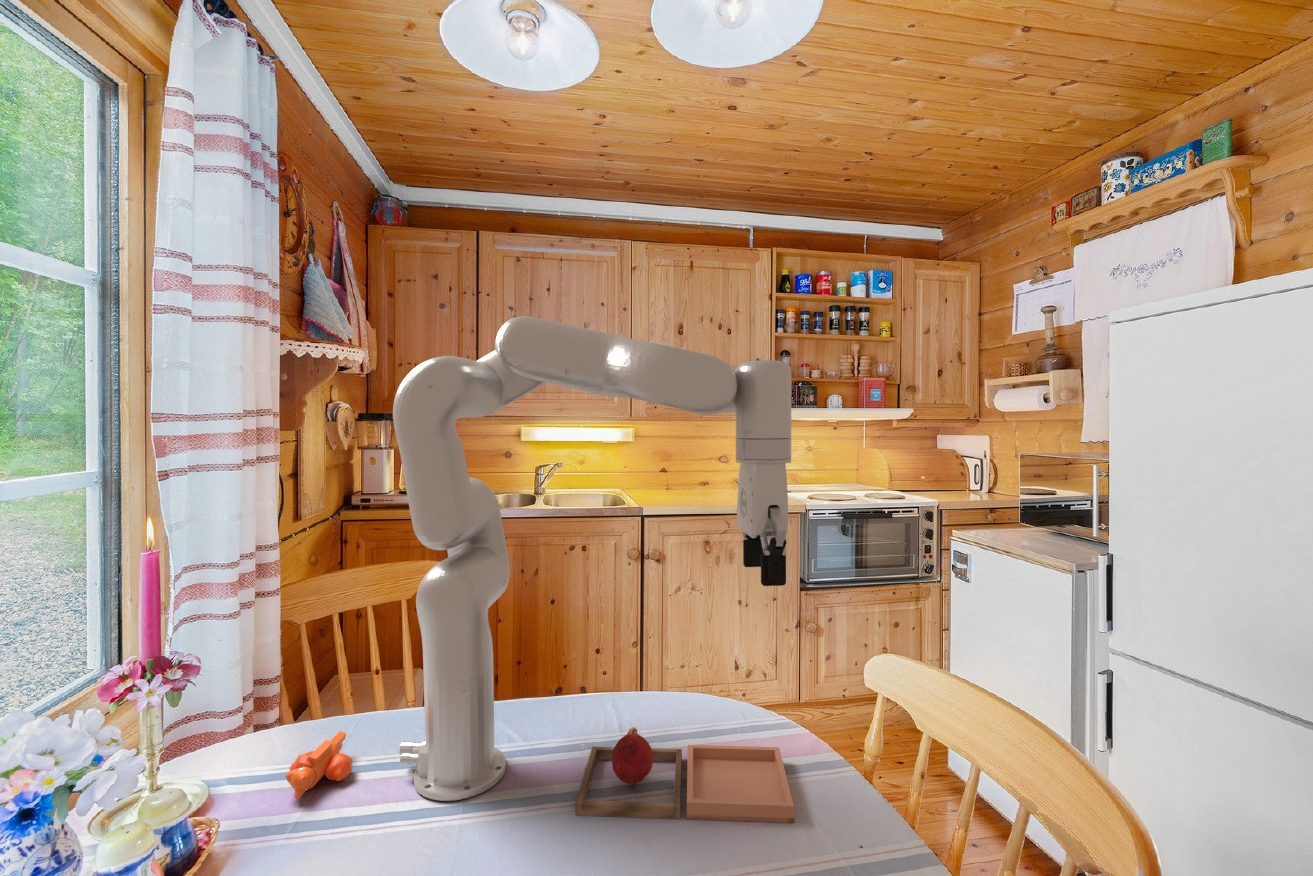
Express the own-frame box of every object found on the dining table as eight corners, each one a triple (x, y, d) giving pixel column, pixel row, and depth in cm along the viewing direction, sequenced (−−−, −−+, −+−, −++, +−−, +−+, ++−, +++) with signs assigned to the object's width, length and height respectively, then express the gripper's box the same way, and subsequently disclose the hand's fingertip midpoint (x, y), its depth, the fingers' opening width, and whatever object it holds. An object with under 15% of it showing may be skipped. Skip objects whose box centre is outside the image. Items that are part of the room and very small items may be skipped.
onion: (648, 800, 81) (647, 742, 81) (606, 795, 83) (606, 737, 82) (656, 775, 87) (656, 720, 87) (618, 770, 88) (617, 717, 88)
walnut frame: (575, 815, 79) (574, 803, 78) (592, 756, 92) (592, 746, 92) (679, 818, 78) (679, 807, 78) (681, 758, 91) (681, 749, 91)
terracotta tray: (686, 819, 78) (686, 802, 78) (687, 759, 91) (687, 744, 91) (794, 823, 77) (794, 806, 77) (779, 761, 90) (779, 747, 90)
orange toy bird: (328, 719, 92) (280, 764, 80) (375, 734, 92) (333, 781, 80) (318, 750, 93) (268, 800, 81) (365, 765, 93) (322, 817, 81)
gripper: (723, 448, 91) (723, 561, 92) (752, 456, 74) (752, 594, 75) (772, 448, 92) (772, 559, 93) (811, 455, 75) (811, 592, 75)
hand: (763, 575), depth 84 cm, fingers open, 9 cm apart
